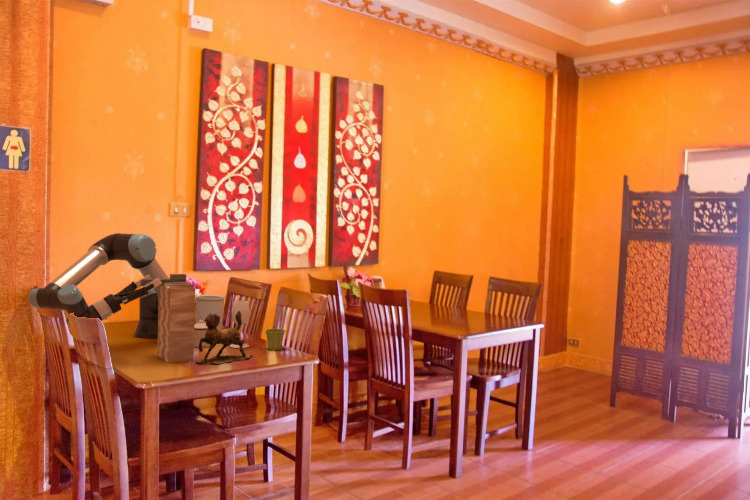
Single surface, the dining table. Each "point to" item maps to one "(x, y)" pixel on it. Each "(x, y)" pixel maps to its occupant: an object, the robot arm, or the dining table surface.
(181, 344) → the stand
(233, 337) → the figurine
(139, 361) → the dining table surface
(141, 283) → the dark wood beam
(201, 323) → the teacup with lid
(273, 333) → the plant pot
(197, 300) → the utensil holder
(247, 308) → the wineglass
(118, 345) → the dining table surface
